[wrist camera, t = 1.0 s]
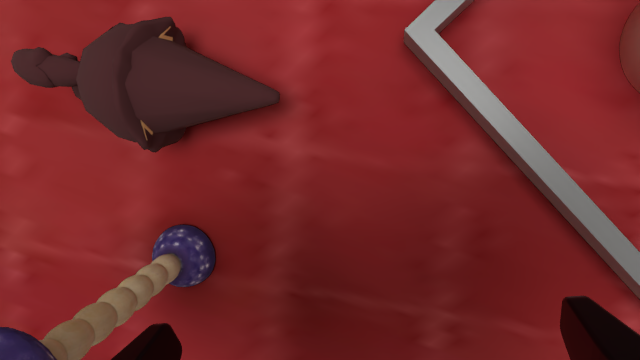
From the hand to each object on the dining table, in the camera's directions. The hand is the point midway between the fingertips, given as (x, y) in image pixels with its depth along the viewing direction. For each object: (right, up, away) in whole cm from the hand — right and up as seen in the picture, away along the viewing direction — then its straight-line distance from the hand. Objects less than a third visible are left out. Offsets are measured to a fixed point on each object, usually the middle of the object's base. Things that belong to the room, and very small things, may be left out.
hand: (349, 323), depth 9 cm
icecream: (-9, +9, +17) cm, 21 cm away
